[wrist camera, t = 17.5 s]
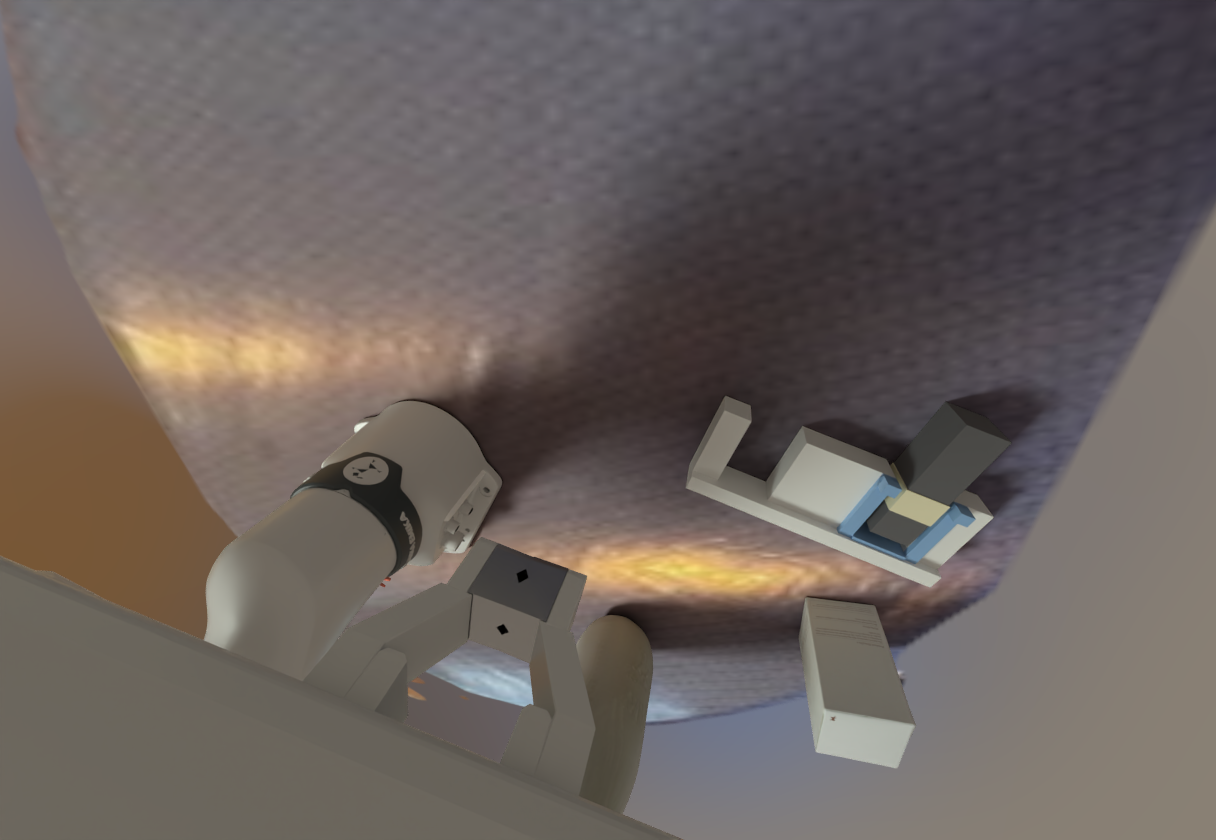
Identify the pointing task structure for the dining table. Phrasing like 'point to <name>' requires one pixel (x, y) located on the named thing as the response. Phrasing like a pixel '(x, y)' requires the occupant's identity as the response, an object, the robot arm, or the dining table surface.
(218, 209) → the dining table surface
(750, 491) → the white angular block assembly
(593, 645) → the glass bottle
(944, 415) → the banded gray post
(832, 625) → the supplement box
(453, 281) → the dining table surface
